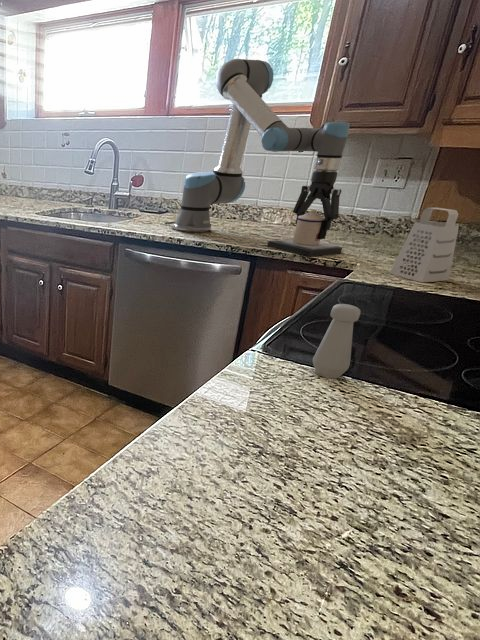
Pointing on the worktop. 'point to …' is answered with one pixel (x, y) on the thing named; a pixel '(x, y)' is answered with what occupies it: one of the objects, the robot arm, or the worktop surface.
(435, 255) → the grater
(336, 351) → the salt shaker
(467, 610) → the worktop surface
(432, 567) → the worktop surface
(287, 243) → the scale
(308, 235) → the teacup with lid
